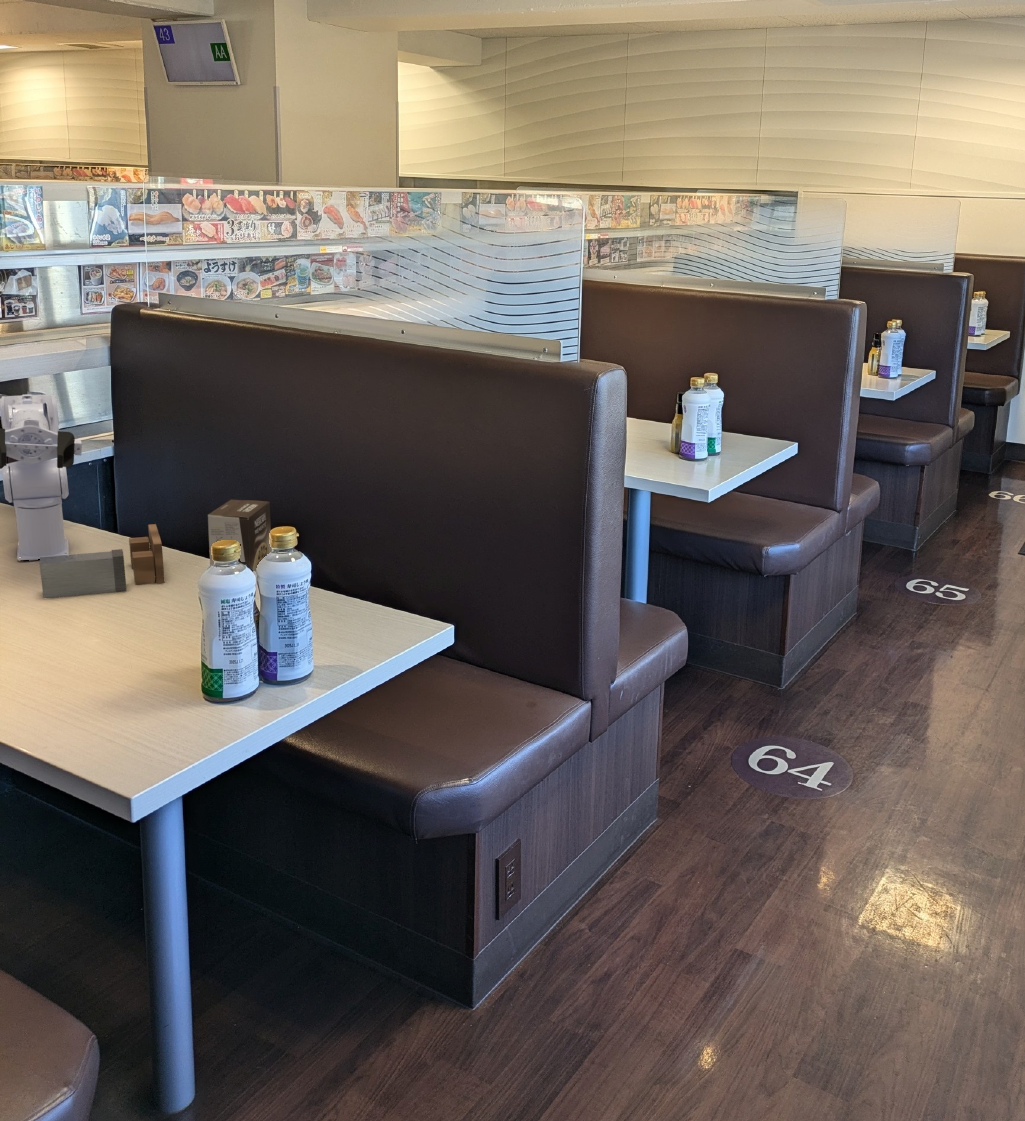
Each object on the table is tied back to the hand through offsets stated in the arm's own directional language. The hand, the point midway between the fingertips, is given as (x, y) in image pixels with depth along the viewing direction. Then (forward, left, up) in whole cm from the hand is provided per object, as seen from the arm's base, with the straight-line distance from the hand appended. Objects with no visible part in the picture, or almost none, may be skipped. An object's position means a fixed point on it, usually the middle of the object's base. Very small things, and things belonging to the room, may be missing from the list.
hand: (32, 460), depth 166 cm
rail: (+1, +6, -21) cm, 22 cm away
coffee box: (+16, +28, -21) cm, 38 cm away
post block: (-5, +15, -21) cm, 26 cm away
